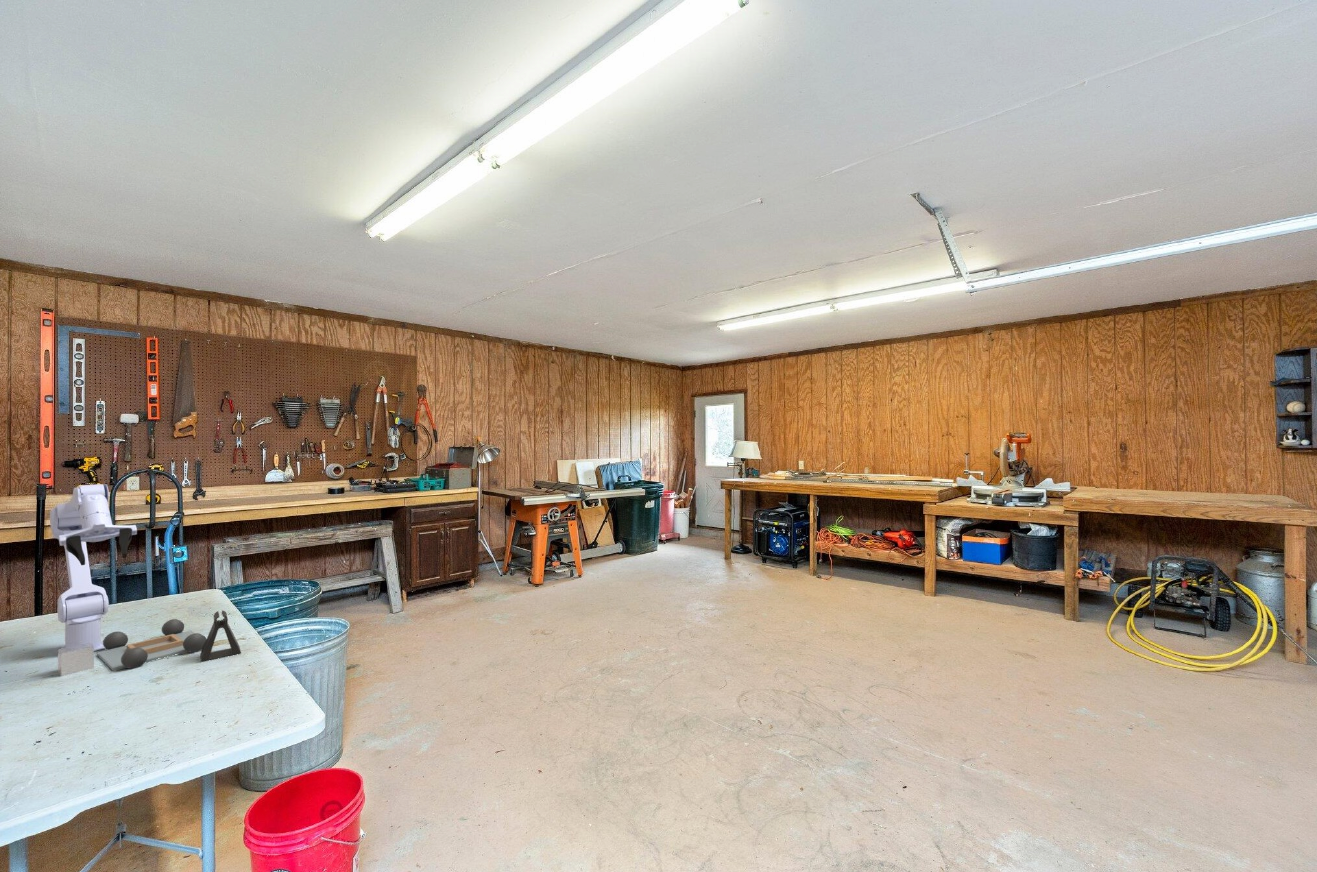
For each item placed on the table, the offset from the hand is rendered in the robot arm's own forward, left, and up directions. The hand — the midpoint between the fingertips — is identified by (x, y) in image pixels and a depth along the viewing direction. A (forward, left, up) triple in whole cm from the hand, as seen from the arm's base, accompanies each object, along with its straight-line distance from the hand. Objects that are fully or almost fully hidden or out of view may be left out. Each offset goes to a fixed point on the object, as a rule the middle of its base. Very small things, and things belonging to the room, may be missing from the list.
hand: (104, 559), depth 144 cm
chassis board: (-11, +12, -31) cm, 35 cm away
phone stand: (+8, +22, -31) cm, 39 cm away
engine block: (-11, -4, -31) cm, 33 cm away
